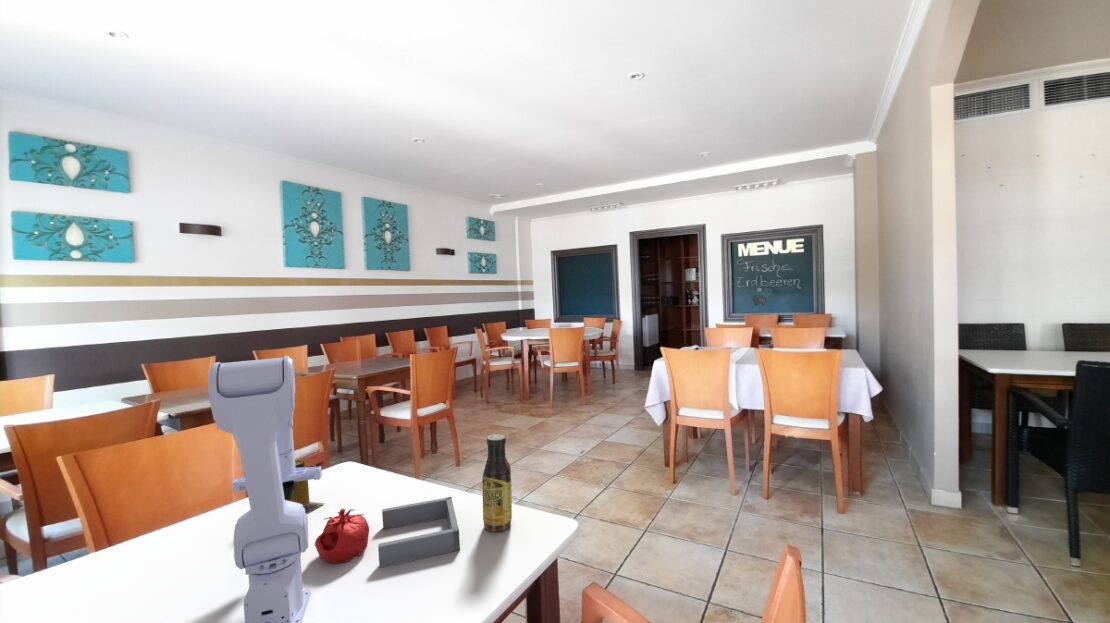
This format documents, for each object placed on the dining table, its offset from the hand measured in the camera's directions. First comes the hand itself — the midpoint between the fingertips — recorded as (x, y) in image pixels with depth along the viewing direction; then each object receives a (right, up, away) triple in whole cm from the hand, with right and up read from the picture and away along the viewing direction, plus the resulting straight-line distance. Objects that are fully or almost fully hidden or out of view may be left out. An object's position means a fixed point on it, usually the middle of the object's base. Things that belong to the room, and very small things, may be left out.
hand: (281, 521), depth 86 cm
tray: (+24, -7, +8) cm, 27 cm away
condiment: (-10, -9, +23) cm, 27 cm away
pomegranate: (+10, -9, +4) cm, 14 cm away
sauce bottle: (+40, -7, +12) cm, 43 cm away
